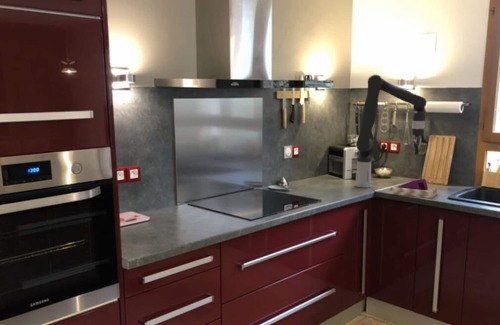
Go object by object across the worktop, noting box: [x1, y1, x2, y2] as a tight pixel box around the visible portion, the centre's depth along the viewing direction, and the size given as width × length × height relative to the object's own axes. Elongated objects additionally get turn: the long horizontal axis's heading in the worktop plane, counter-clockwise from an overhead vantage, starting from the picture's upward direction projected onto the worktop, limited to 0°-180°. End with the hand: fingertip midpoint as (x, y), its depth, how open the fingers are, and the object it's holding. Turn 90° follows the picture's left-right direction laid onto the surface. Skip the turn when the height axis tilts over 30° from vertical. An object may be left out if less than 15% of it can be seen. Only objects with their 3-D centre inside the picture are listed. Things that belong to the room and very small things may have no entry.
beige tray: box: [390, 186, 438, 199], centre depth 281 cm, size 25×14×4 cm, turn 59°
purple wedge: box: [397, 178, 429, 191], centre depth 286 cm, size 9×8×18 cm
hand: (416, 154), depth 294 cm, fingers closed
